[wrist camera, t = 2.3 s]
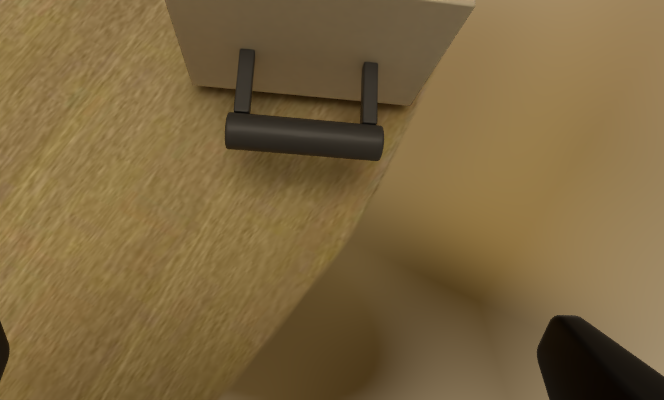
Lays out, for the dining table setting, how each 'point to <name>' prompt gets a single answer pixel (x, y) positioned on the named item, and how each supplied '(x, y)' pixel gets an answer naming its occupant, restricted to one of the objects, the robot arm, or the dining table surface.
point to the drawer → (314, 62)
